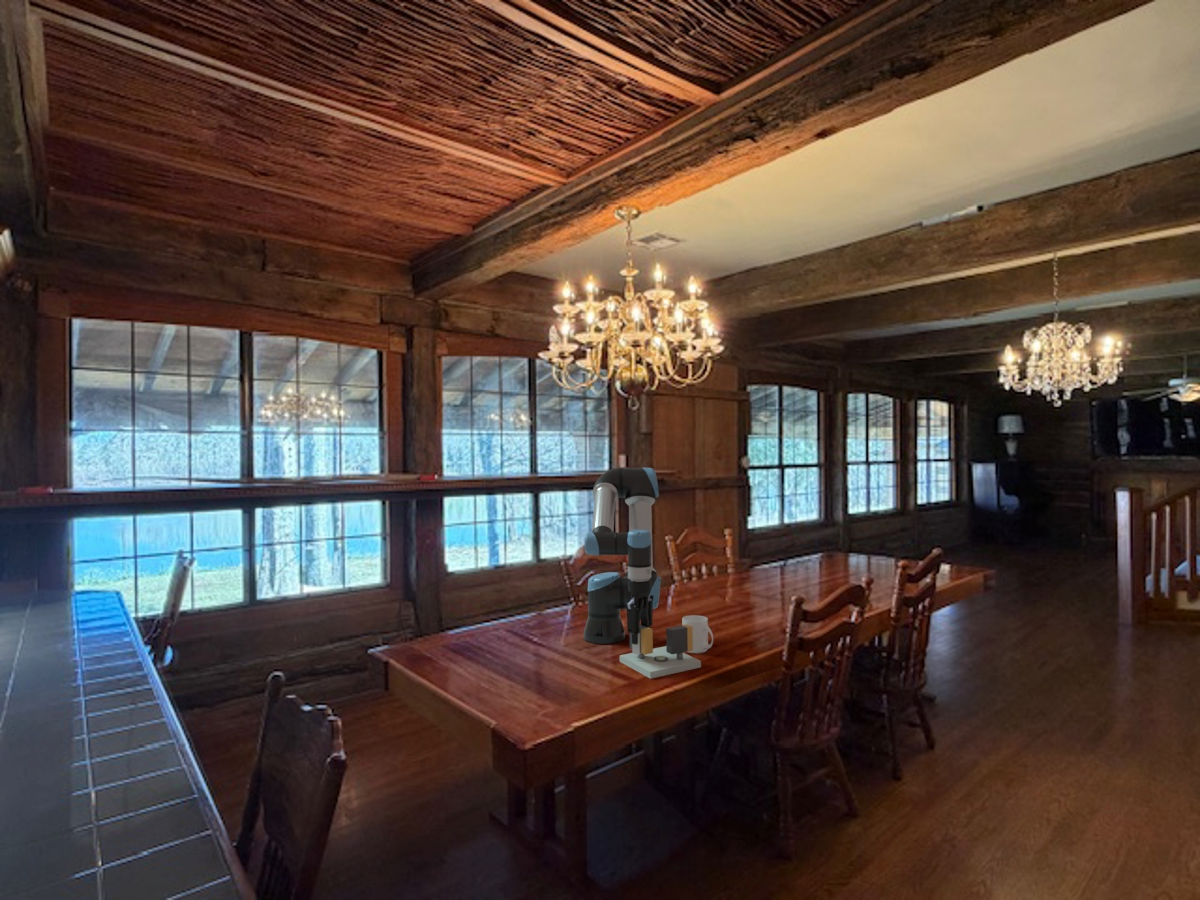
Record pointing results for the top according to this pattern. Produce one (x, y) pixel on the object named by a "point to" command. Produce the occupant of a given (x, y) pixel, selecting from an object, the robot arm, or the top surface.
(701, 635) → the mug
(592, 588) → the robot arm
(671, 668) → the base plate
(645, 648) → the knob
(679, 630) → the knob
